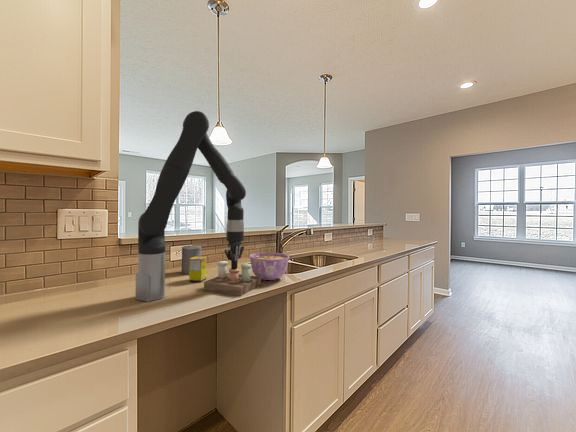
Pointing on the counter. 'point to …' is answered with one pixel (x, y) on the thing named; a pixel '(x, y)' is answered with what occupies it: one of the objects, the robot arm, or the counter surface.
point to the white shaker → (222, 269)
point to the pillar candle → (189, 256)
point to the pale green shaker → (246, 272)
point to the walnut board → (232, 285)
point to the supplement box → (197, 269)
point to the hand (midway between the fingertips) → (234, 269)
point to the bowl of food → (269, 265)
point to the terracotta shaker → (234, 274)
